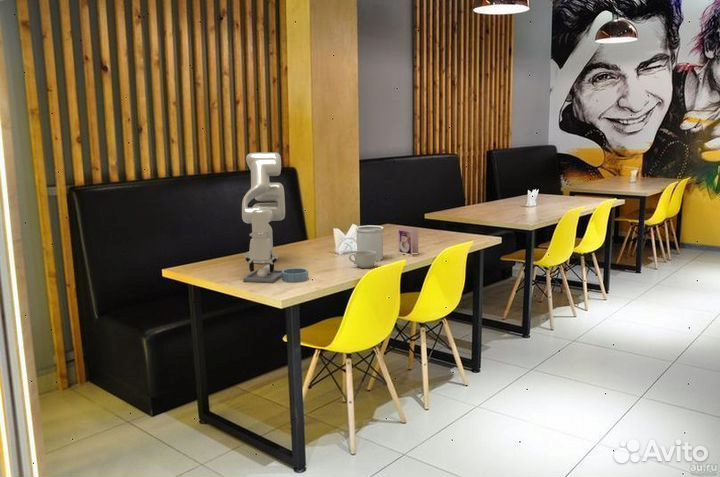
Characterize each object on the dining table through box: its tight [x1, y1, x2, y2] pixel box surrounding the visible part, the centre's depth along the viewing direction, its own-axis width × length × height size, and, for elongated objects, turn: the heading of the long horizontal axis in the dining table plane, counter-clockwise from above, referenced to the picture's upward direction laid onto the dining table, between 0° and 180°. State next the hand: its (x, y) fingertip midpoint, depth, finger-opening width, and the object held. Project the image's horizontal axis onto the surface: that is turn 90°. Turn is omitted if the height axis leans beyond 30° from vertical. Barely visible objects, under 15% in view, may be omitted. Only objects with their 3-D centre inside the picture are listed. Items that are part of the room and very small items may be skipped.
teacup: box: [348, 250, 376, 269], centre depth 327 cm, size 14×11×8 cm
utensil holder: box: [355, 224, 385, 262], centre depth 345 cm, size 15×15×18 cm
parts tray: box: [242, 268, 284, 284], centre depth 306 cm, size 15×18×2 cm
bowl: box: [281, 267, 309, 283], centre depth 303 cm, size 12×12×4 cm
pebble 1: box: [257, 267, 267, 278], centre depth 302 cm, size 5×5×5 cm
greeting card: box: [397, 227, 419, 256], centre depth 357 cm, size 11×7×15 cm, turn 39°
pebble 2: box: [263, 264, 271, 275], centre depth 310 cm, size 5×5×5 cm
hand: (261, 271), depth 302 cm, fingers open, 9 cm apart
